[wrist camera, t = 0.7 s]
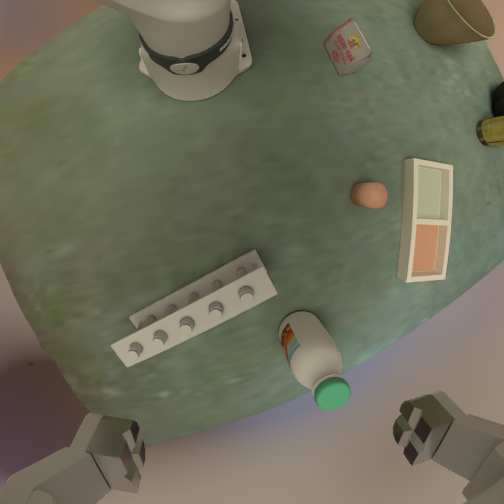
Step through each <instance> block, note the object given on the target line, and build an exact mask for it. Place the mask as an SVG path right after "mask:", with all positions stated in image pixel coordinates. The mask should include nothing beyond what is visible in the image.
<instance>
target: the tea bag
mask: <svg viewBox="0 0 504 504" xmlns="http://www.w3.org/2000/svg"><path fill="white" fill-rule="evenodd" d="M323 45H324V47H325V49H326V51H327V53H328V55H329V56H330V58H331V60H332V62H333V64H334V66H335V69H336V71H337V73H338V75H339V76H340V75H345V74H350V73H356V72H357V71H358V70H360V69H361V68H362V67H363V66H365V65H366V64H367V63H368V62H370V58H371V55H372V51H371V49H370V47H369V45H368V43H367V42H366V40H365V38H364V36H363V34H362V33H361V31H360V29H359V27H358V26H357V24H356V22H355V20H354V19H350V20H348V21H347V22H346V23H344V24H343V25H341V26H340V27H338V28H337V29H335V30H334V31H333V32H332V34H331V35H330V36H329V38H328V39H327V40H326V42H325V43H324V44H323Z"/></svg>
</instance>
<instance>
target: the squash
mask: <svg viewBox="0 0 504 504" xmlns="http://www.w3.org/2000/svg"><path fill="white" fill-rule="evenodd" d="M493 103H494V105H495V106H494V109H493V110H494V113H495V115H496V116H497V117H499V116H504V82H502V83H501V84H500V85H499V86H498V87H497V88H496V90H495V92H494V94H493Z"/></svg>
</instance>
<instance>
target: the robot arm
mask: <svg viewBox="0 0 504 504" xmlns="http://www.w3.org/2000/svg"><path fill="white" fill-rule="evenodd" d="M93 1H96V2H99V3H102V4H104V5H107V6H109V7H112V8H114V9H116V10H118V11H120V12H122V13H123V14H125V15H126V16H127V17H128V18H129V19H130V20H131V21H132V23H133V24H134V26H135V27H136V28H137V30H138V31H139V37H140V41H141V45H142V46H141V48H140V49H139V54H140V56H141V61H140V64H139V69H140V72H141V73H142V74H144V75H146V76H148V77H150V78H152V79H153V81H154V82H155V83H156V85H157V86H158V87H159V89H160V90H161V91H162V92H164V93H165V94H166V95H168V96H170V97H172V98H175V99H178V100H183V101H198V100H203V99H207V98H210V97H212V96H214V95H216V94H218V93H220V92H221V91H222V90H224V89H225V88H226V87H227V86H228V85H229V84H230V83H231V82H232V80H233V79H234V78H235V77H236V76H237V75H238V74H239V73H241V72H243V71H245V70H247V69H248V68H250V67H251V66H252V57H251V52H250V48H249V44H248V40H247V36H246V32H245V28H244V24H243V20H242V16H241V12H240V9H239V5H238V2H237V1H235V0H93ZM242 55H245V56H246V57H242ZM400 413H401V415H400V416H399V417H398V418H397V419H396V420H395V423H394V426H393V435H394V439H395V441H396V442H397V444H398V445H400V446H402V447H404V452H403V453H404V455H405V457H406V458H407V460H408V461H409V463H410V464H411V466H413V465H416V464H419V463H422V462H424V461H427V460H430V459H432V460H433V461H434V462H436V463H438V464H440V465H442V466H443V467H445V468H447V469H449V470H451V471H452V472H454V473H456V474H458V475H460V476H462V477H464V478H466V479H467V480H469V481H470V482H469V483H468V484H467V486H466V487H465V488H464V489H463V492H462V493H463V495H464V496H465V498H466V499H467V502H465V503H464V504H504V425H502V424H499V423H496V422H492V421H489V420H486V419H483V418H480V417H477V416H473V415H471V414H469V415H466V414H465V413H464V412H463V411H462V410H461V409H460V408H459V407H458V406H457V405H456V404H455V403H454V402H453V401H452V400H451V399H450V398H449V397H448V396H447V395H446V394H445V393H444V392H443V391H437V392H433V393H430V394H428V395H424V396H421V397H417V398H414V399H411V400H407V401H404V403H403V404H402V405H401V407H400ZM139 430H140V428H139V425H138V423H137V421H135V420H129V419H122V418H116V417H111V416H105V415H98V414H94V413H89V414H87V415H86V417H85V418H84V420H83V422H82V424H81V426H80V428H79V430H78V432H77V434H76V436H75V438H74V440H73V442H72V444H71V446H70V448H67V447H64V448H63V449H61V450H59V451H57V452H55V453H54V454H52V455H50V456H48V457H46V458H45V459H42V460H40V461H39V462H37V463H35V464H33V465H31V466H29V467H27V468H25V469H23V470H21V471H19V472H17V473H15V474H13V475H11V476H10V477H9V479H8V481H7V483H6V484H5V486H4V488H3V490H2V492H1V494H0V504H96V503H97V502H98V501H99V500H100V499H102V498H103V497H104V496H105V495H106V494H107V493H108V492H109V491H110V490H111V489H115V490H120V491H126V492H133V493H138V489H139V485H140V480H141V475H140V473H139V471H138V470H139V469H141V468H142V467H143V466H144V462H145V444H144V441H143V439H142V438H141V437H140V436H139V435H138V434H139Z"/></svg>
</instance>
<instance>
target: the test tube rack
mask: <svg viewBox="0 0 504 504" xmlns="http://www.w3.org/2000/svg"><path fill="white" fill-rule="evenodd" d="M267 273H268V272H267V270H266V268H265V266H264V265H263V263H262V261H261V259H260V257H259V255H258V253H257V251H256V250H255V249H253V250H251V251H250V252H248V253H246V254H244V255H242V256H240V257H238V258H237V259H235V260H233V261H231V262H229V263H227V264H225V265H224V266H222V267H220V268H218V269H216V270H214V271H212V272H211V273H209V274H207V275H205V276H203V277H201V278H199V279H197V280H196V281H194V282H192V283H190V284H188V285H186V286H184V287H183V288H181V289H179V290H177V291H175V292H173V293H171V294H170V295H168V296H166V297H164V298H162V299H160V300H158V301H156V302H155V303H153V304H151V305H149V306H147V307H145V308H143V309H142V310H140V311H138V312H136V313H134V314H132V315H130V317H129V318H130V320H131V321H132V323H133V324H134V326H135V327H136V331H135V332H134V333H132V334H130V335H128V336H126V337H124V338H122V339H120V340H118V341H116V342H114V343H112V344H111V347H112V348H113V349H114V351H115V352H116V354H117V355H118V356H119V358H120V359H121V360H122V361H123V363H124V364H125V365H126V367H129V366H132V365H134V364H136V363H138V362H140V361H143V360H145V359H147V358H149V357H151V356H154V355H156V354H158V353H160V352H162V351H164V350H167V349H169V348H171V347H173V346H175V345H177V344H179V343H181V342H183V341H186V340H188V339H190V338H192V337H194V336H196V335H198V334H200V333H202V332H204V331H206V330H208V329H210V328H212V327H214V326H216V325H218V324H220V323H222V322H224V321H226V320H228V319H230V318H232V317H234V316H236V315H238V314H240V313H242V312H244V311H246V310H248V309H250V308H252V307H254V306H256V305H258V304H259V303H261V302H263V301H265V300H267V299H269V298H271V297H273V296H275V295H277V294H278V293H277V291H276V290H275V288H274V286H273V284H272V282H271V280H270V278H269V277H268V275H267ZM252 291H253V292H252ZM209 305H210V306H209ZM181 319H182V320H181ZM193 325H194V326H193ZM155 332H156V333H155ZM167 337H168V338H167ZM166 339H167V340H166ZM142 349H143V350H142ZM141 351H142V352H141Z"/></svg>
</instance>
